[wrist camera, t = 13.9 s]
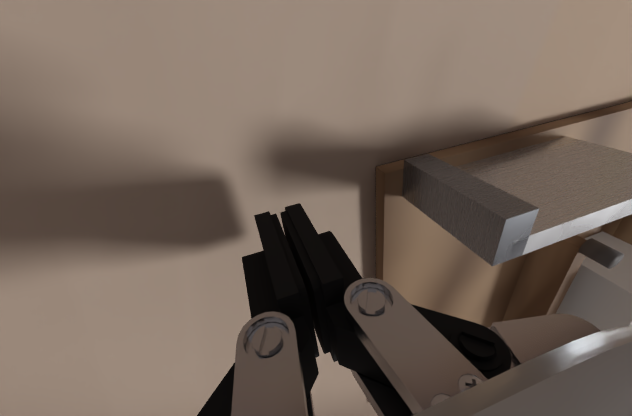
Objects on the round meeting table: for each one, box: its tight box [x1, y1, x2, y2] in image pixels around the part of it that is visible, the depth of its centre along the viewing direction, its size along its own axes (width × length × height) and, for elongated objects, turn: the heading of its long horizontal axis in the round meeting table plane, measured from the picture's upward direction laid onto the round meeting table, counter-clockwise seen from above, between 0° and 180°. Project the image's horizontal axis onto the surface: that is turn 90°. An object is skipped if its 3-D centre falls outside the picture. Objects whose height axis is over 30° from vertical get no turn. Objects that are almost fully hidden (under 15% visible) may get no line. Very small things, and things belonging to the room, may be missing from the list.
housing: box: [376, 101, 632, 327], centre depth 19 cm, size 24×22×5 cm
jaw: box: [556, 231, 632, 331], centre depth 20 cm, size 4×7×6 cm, turn 7°
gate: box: [402, 136, 632, 266], centre depth 11 cm, size 10×2×5 cm, turn 97°
